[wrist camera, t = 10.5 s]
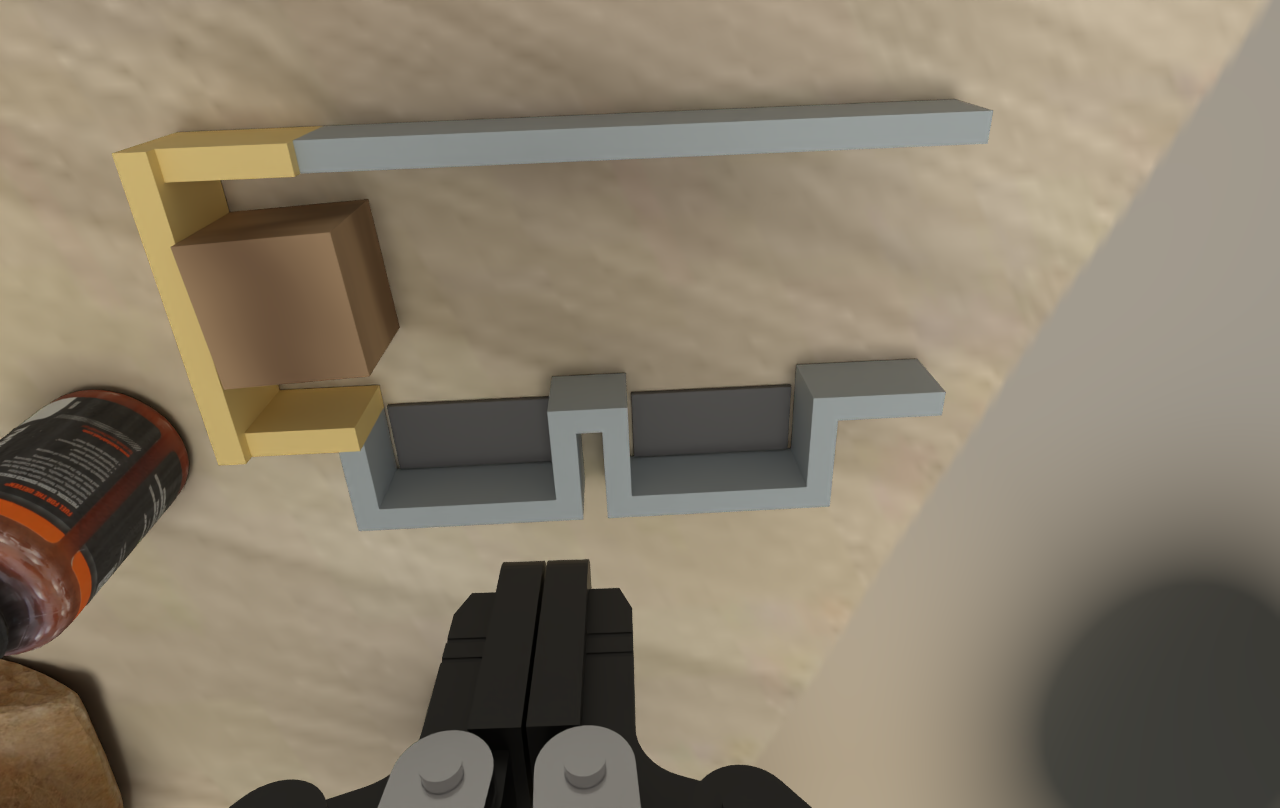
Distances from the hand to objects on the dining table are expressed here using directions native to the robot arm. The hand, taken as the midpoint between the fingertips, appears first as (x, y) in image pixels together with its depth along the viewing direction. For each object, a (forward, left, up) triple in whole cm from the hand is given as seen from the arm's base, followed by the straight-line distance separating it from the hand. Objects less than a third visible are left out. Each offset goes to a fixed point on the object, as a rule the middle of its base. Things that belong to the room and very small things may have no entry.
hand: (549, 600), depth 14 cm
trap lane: (0, -3, -18) cm, 18 cm away
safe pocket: (-6, +9, -18) cm, 21 cm away
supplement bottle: (-17, +12, -18) cm, 28 cm away
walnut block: (-5, +8, -18) cm, 21 cm away
